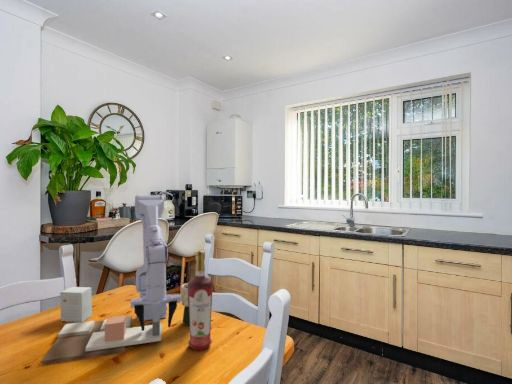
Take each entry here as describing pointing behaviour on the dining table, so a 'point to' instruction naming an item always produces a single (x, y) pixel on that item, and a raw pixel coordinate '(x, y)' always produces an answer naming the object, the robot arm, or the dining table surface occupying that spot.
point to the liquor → (200, 306)
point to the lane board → (79, 342)
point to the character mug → (185, 302)
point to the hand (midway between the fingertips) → (156, 327)
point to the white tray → (128, 336)
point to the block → (115, 328)
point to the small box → (76, 304)
